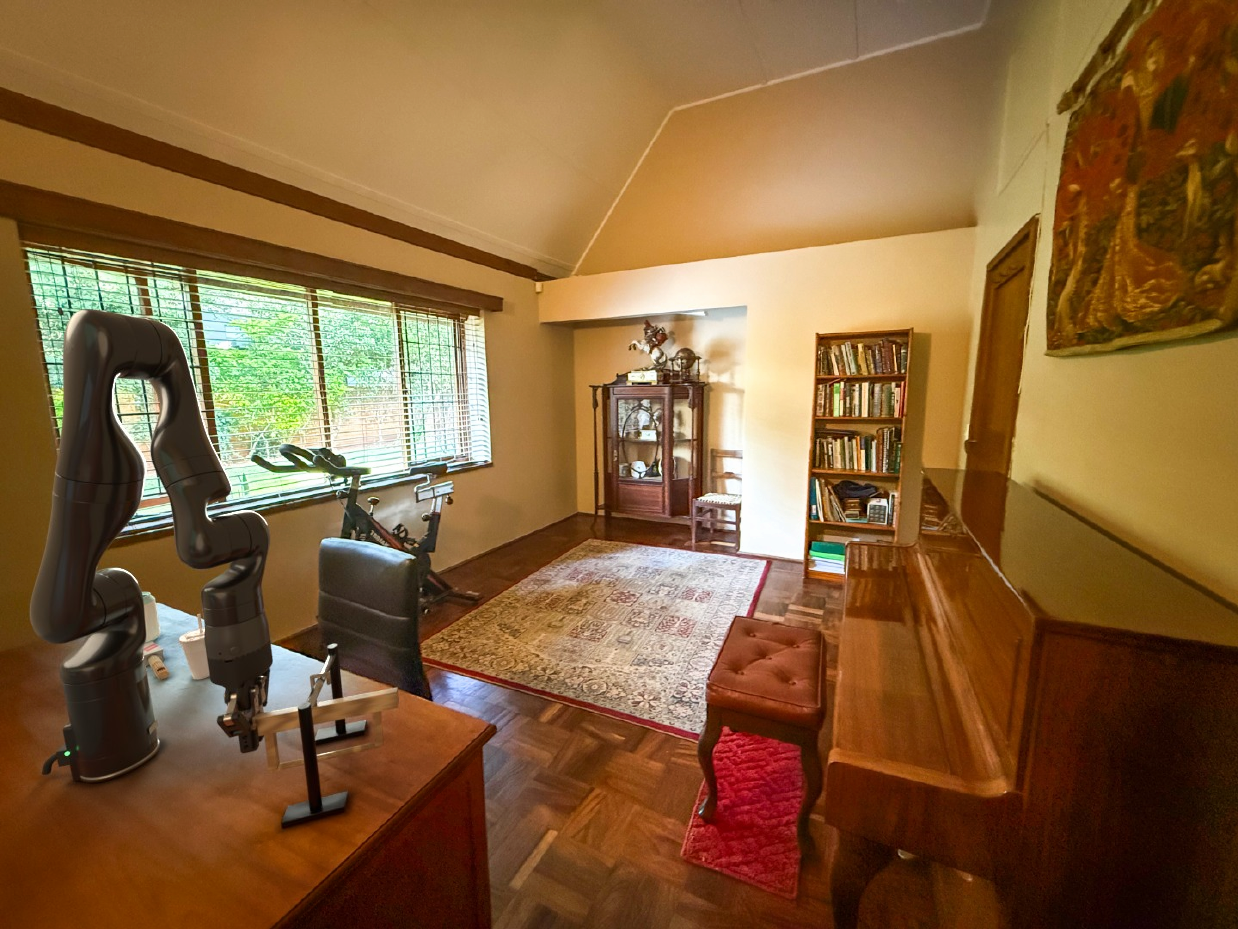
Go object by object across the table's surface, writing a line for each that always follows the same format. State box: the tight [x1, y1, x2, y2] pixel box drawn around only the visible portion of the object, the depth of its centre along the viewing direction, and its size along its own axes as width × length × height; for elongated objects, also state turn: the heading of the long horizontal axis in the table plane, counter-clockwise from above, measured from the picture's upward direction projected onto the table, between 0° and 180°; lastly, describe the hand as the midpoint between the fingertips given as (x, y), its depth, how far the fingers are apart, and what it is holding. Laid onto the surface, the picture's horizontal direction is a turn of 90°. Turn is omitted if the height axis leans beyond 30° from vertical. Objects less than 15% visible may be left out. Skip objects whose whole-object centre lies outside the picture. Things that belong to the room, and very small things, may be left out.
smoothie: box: [178, 613, 210, 680], centre depth 103 cm, size 6×6×14 cm
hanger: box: [246, 671, 400, 772], centre depth 76 cm, size 22×1×15 cm, turn 109°
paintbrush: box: [143, 641, 170, 680], centre depth 108 cm, size 4×3×20 cm
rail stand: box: [280, 643, 368, 830], centre depth 76 cm, size 8×20×18 cm, turn 20°
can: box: [142, 591, 162, 643], centre depth 117 cm, size 7×7×12 cm
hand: (252, 746), depth 73 cm, fingers closed on hanger, 1 cm apart
